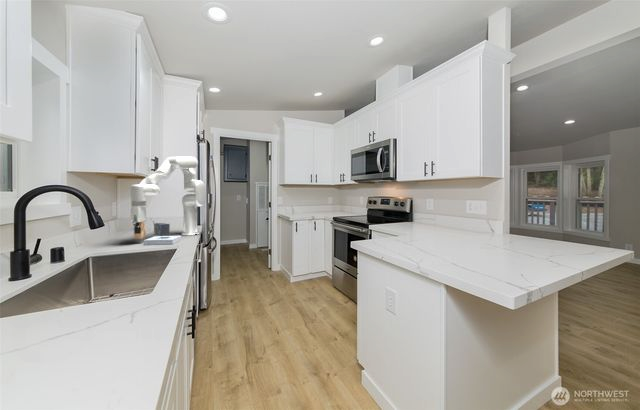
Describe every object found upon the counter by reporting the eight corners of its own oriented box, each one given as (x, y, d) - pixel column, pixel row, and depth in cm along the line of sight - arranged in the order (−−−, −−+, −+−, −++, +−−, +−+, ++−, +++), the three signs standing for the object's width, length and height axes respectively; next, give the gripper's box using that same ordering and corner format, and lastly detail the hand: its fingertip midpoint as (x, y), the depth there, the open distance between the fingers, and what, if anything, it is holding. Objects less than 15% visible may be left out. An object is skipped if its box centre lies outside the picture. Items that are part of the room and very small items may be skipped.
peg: (137, 237, 162) (137, 221, 162) (145, 237, 163) (144, 221, 162) (134, 238, 158) (133, 222, 157) (142, 238, 159) (141, 222, 158)
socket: (155, 240, 170) (155, 236, 170) (181, 240, 173) (181, 235, 173) (144, 245, 154) (143, 240, 154) (172, 244, 157) (172, 239, 157)
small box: (170, 238, 179) (170, 223, 179) (160, 239, 174) (160, 224, 174) (163, 236, 185) (163, 222, 185) (153, 238, 180) (153, 223, 180)
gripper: (138, 203, 167) (139, 230, 168) (124, 204, 150) (125, 235, 151) (151, 203, 168) (152, 230, 169) (138, 204, 152) (139, 235, 153)
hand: (139, 232), depth 160 cm, fingers closed on peg, 4 cm apart
